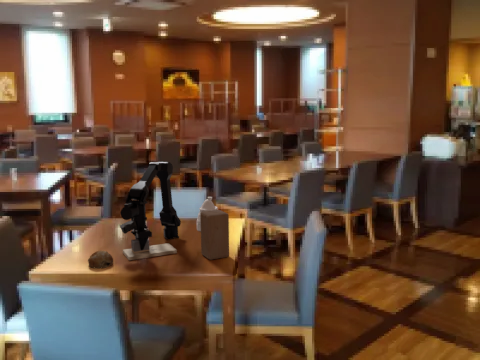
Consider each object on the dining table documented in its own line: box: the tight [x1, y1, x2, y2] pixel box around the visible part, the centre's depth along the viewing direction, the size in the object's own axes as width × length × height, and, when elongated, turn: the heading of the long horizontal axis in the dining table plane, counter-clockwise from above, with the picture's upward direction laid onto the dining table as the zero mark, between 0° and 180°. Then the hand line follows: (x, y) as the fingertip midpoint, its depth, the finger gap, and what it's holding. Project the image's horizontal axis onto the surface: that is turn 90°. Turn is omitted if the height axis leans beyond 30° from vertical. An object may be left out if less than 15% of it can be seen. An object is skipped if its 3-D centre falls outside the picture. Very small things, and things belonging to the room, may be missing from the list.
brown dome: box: [87, 250, 114, 269], centre depth 204 cm, size 10×10×8 cm
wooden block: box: [200, 209, 230, 261], centre depth 213 cm, size 10×10×20 cm
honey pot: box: [196, 196, 219, 233], centre depth 258 cm, size 13×13×18 cm
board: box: [122, 243, 178, 261], centre depth 219 cm, size 22×12×2 cm, turn 116°
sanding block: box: [130, 239, 150, 253], centre depth 217 cm, size 7×4×5 cm, turn 117°
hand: (140, 248), depth 217 cm, fingers closed on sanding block, 4 cm apart
